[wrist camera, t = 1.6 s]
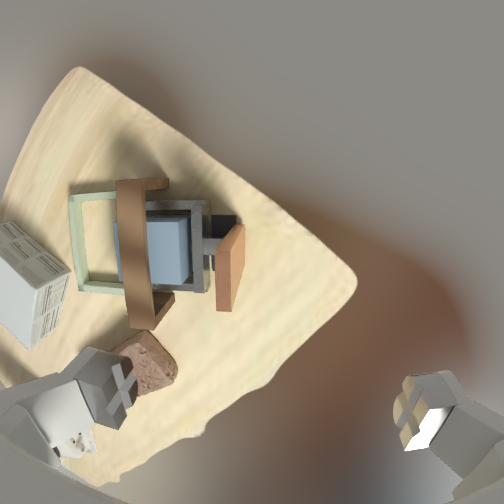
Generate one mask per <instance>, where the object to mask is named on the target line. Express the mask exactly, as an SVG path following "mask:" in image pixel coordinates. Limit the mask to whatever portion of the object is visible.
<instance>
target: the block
mask: <svg viewBox="0 0 504 504" xmlns="http://www.w3.org/2000/svg"><path fill="white" fill-rule="evenodd" d="M146 224H147V241H148V255H149V267H150V277H151V283H154V284H171V285H182V284H183V283H184V281H185V280H186V279H187V278H188V276H189V275H190V274H191V273H192V271H193V258H192V231H191V215H173V216H146ZM114 235H115V247H116V257H117V267H118V275H119V281H123V279H122V270H121V261H120V252H119V240H118V227H117V222H114Z"/></svg>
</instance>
